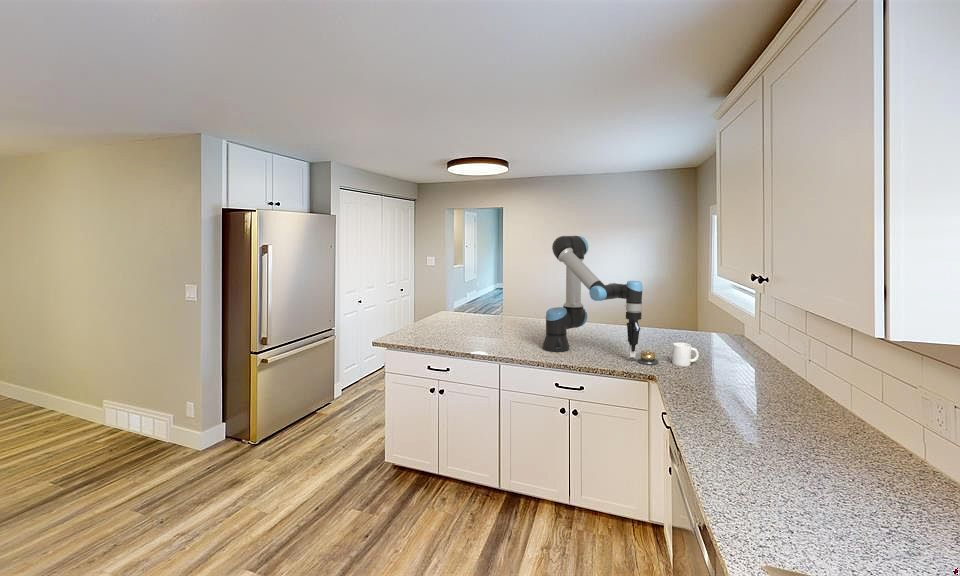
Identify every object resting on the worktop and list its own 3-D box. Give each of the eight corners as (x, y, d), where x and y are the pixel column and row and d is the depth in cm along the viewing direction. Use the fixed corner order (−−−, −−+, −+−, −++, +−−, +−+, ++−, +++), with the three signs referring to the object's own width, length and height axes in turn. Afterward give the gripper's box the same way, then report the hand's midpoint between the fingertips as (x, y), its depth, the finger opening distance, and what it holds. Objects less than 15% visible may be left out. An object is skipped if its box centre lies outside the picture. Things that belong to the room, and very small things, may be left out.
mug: (696, 363, 211) (697, 343, 210) (700, 368, 203) (701, 347, 202) (670, 361, 214) (671, 342, 212) (674, 366, 206) (675, 346, 204)
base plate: (633, 362, 214) (633, 359, 214) (642, 358, 220) (643, 355, 220) (652, 366, 206) (652, 363, 206) (661, 362, 213) (661, 359, 213)
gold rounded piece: (654, 358, 215) (654, 350, 215) (655, 361, 209) (655, 354, 208) (629, 356, 219) (630, 348, 219) (629, 359, 213) (630, 352, 212)
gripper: (622, 309, 218) (620, 353, 220) (630, 313, 205) (629, 360, 208) (636, 309, 218) (635, 353, 220) (646, 313, 205) (644, 360, 207)
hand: (632, 357), depth 214 cm, fingers closed
